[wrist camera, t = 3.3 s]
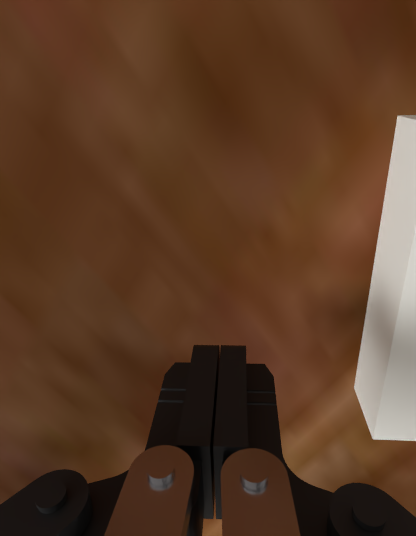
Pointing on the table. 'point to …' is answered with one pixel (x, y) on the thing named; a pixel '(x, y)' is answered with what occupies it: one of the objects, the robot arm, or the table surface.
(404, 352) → the t block
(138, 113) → the table surface
